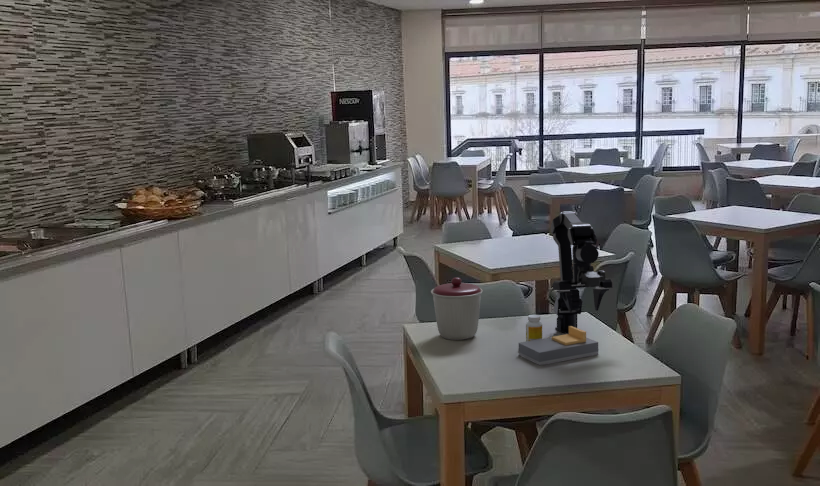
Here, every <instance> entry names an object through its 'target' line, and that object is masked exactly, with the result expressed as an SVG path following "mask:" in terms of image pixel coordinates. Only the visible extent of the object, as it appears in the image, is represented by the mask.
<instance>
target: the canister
mask: <svg viewBox="0 0 820 486" xmlns="http://www.w3.org/2000/svg"><path fill="white" fill-rule="evenodd" d="M462 281H463V280H462V279H461V277H453V278H452V279H451V282H450V283H444V284H443V283H442V284H440V285H437V286H435V287H434V288H432V289H431V290H430V293H431V295H432V298H433V299H432V300H433V305H434V307H433V308H434V314H435V320H436V327H437V331H438V333H439V335H440V336H441V337H442V338H444V339H447V340H455V341H460V340H469V339H471V338H473V337H475V336H476V334H477V332H478V328H479V327H478V326H479V320H480V312H481V311H480V310H481V301H482V300H481V299H482V297H481V296H482V294H483V292H484V290H483V289H482V288H481V287H479V286H478V285H477V284H473V283H468V282H467V283H466V282H462Z"/></svg>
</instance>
